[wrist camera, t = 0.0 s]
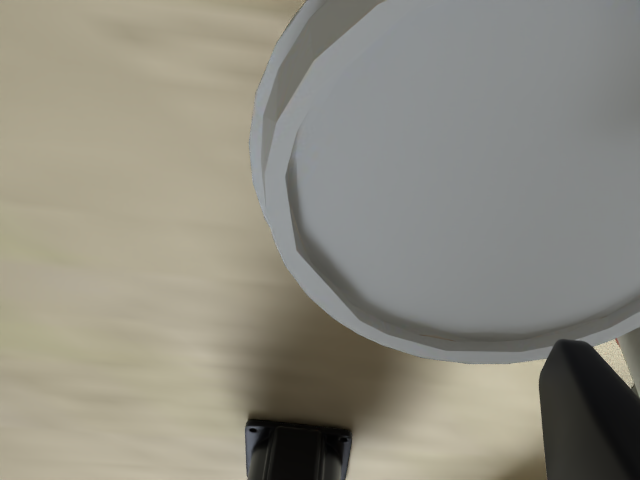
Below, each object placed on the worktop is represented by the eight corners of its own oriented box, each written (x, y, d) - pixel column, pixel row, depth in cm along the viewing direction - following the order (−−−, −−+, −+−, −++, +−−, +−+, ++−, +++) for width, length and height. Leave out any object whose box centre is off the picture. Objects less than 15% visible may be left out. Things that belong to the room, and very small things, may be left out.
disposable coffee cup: (288, -169, 17) (181, -61, 8) (636, -202, 16) (964, -121, 7) (317, 125, 23) (275, 376, 14) (573, 115, 22) (705, 381, 13)
